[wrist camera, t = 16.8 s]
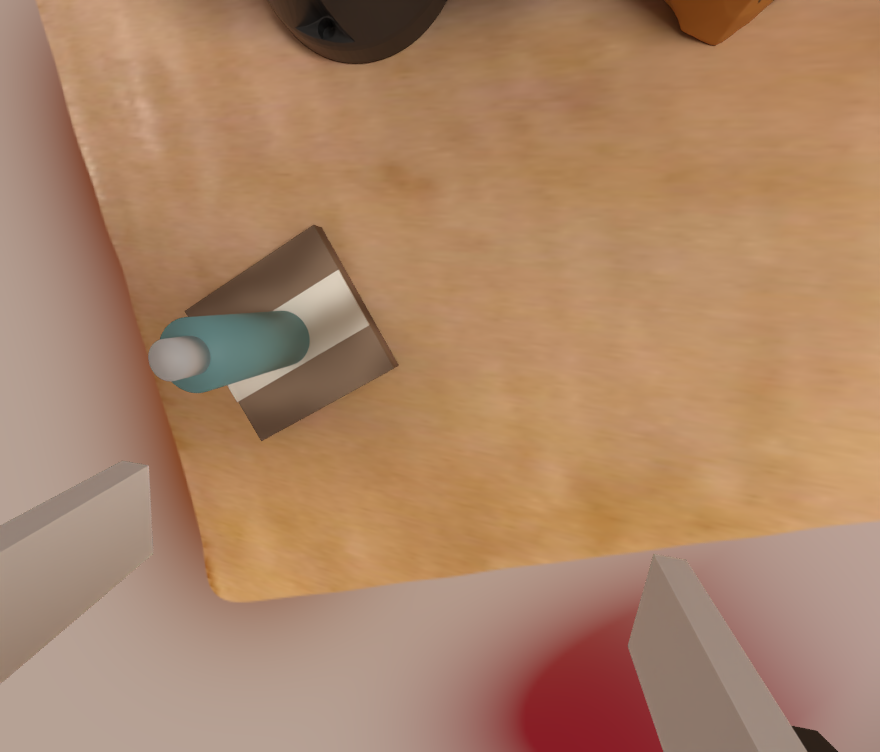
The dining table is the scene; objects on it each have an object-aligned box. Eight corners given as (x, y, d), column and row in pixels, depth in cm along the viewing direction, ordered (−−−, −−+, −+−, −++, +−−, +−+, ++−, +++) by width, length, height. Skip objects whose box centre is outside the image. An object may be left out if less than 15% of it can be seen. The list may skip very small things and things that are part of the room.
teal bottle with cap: (248, 327, 38) (116, 343, 26) (291, 300, 37) (175, 303, 25) (276, 375, 39) (159, 414, 26) (319, 349, 38) (219, 377, 25)
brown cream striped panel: (196, 310, 41) (183, 311, 39) (321, 227, 38) (312, 224, 36) (270, 435, 42) (260, 441, 40) (398, 365, 38) (393, 368, 37)
